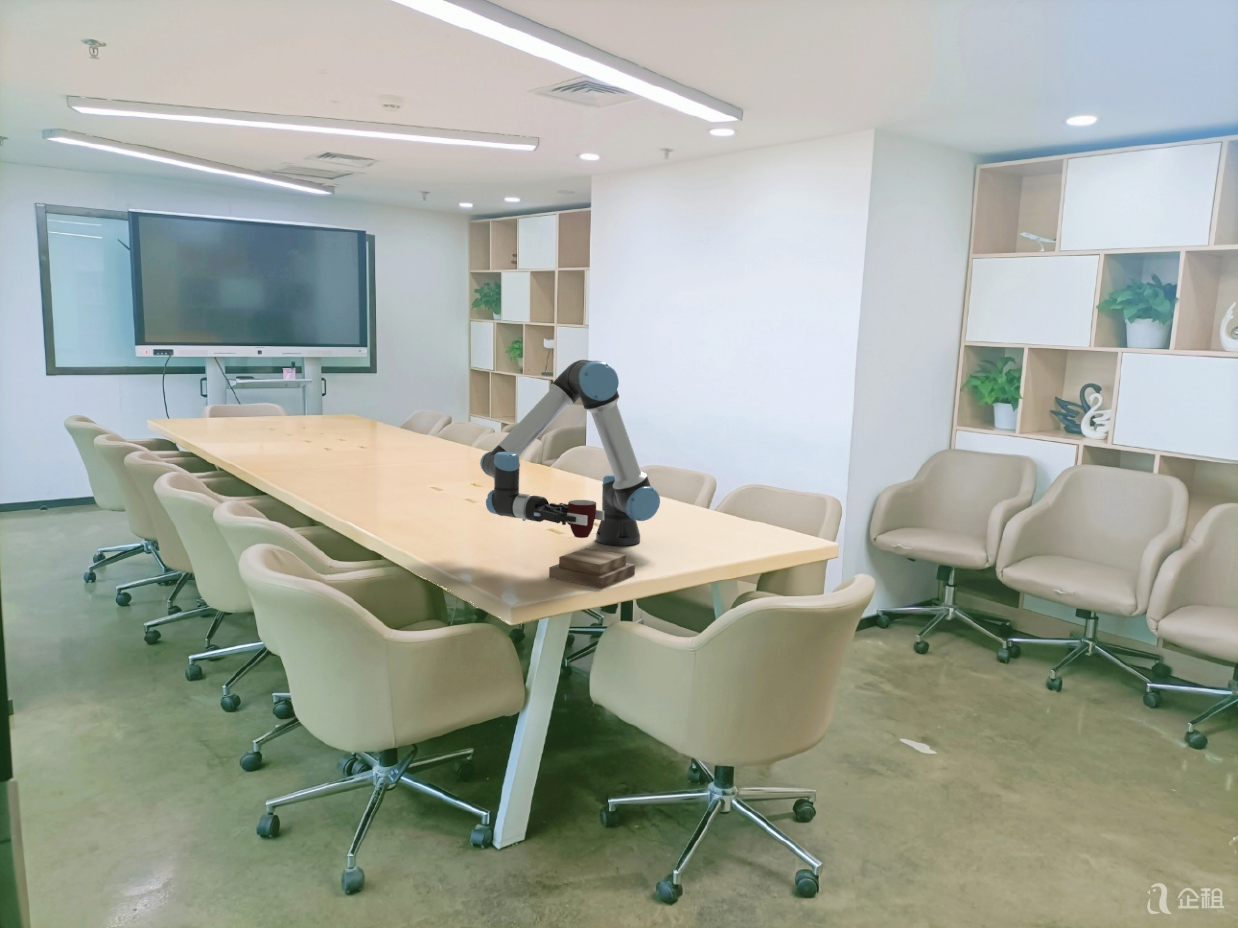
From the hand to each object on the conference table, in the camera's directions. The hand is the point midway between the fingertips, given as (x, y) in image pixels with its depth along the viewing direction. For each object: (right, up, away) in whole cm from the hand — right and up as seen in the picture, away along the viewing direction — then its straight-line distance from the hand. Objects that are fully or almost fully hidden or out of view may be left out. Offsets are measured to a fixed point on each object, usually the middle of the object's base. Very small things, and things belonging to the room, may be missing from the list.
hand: (595, 518), depth 246 cm
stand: (-1, -17, +5) cm, 18 cm away
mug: (-5, -6, +4) cm, 8 cm away
